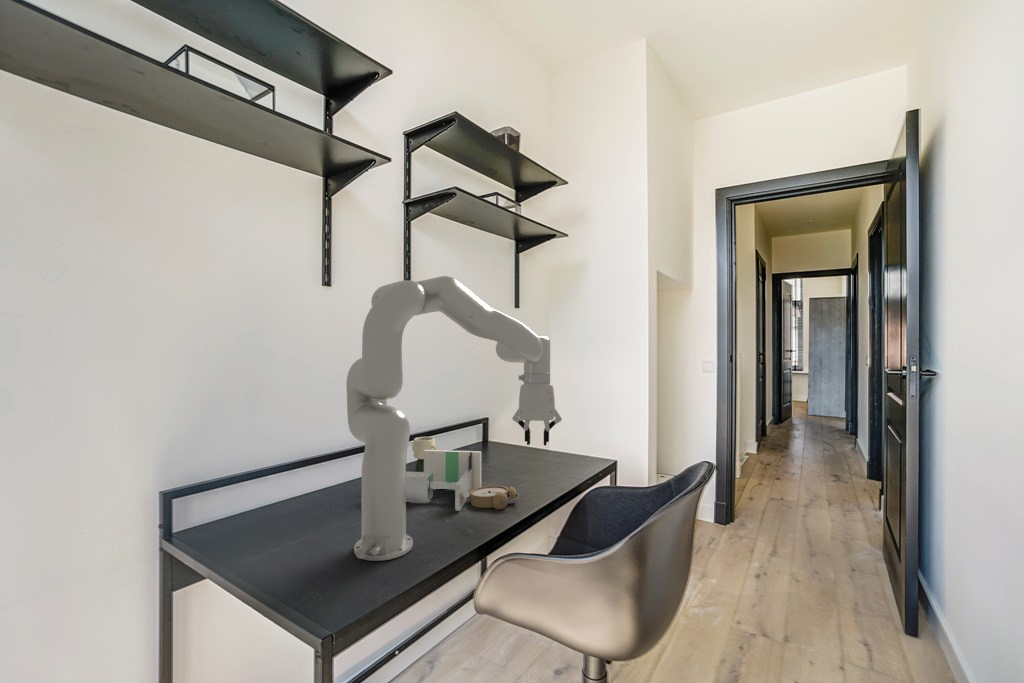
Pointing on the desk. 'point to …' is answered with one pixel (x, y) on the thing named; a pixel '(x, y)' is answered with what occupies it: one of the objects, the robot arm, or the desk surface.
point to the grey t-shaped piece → (457, 486)
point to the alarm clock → (493, 497)
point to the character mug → (422, 450)
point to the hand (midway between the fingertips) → (536, 443)
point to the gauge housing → (418, 487)
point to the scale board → (452, 465)
